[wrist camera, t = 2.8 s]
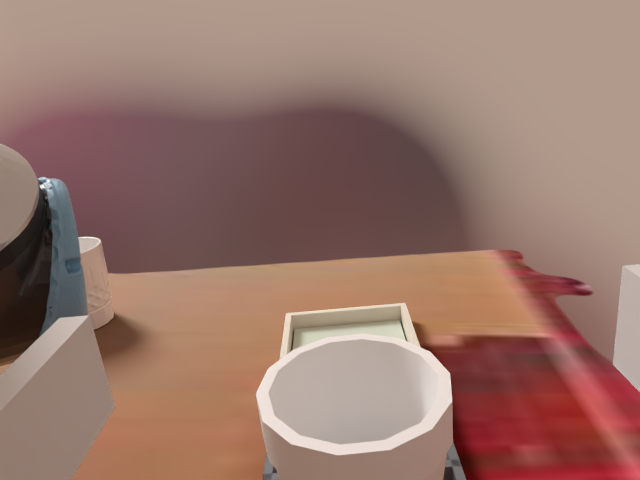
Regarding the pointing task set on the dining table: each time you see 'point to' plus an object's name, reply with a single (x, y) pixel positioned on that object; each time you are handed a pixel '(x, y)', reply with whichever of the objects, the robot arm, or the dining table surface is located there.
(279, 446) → the foam cup
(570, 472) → the dining table surface
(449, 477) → the grey flat rectangular tray
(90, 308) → the white cup
